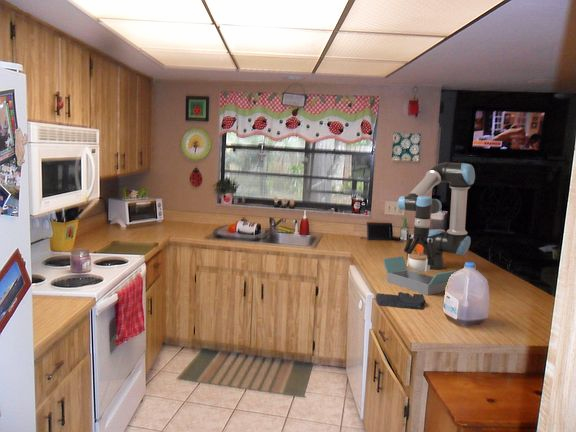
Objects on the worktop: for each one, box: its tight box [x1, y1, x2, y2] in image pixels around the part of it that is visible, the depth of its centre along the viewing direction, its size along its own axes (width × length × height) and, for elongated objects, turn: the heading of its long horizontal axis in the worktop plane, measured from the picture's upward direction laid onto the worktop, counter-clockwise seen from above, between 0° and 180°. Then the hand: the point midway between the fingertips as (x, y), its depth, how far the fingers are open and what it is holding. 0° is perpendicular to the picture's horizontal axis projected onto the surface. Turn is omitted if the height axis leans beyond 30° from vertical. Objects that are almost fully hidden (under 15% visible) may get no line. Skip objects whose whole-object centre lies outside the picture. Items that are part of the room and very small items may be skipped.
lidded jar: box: [407, 252, 427, 273], centre depth 241 cm, size 11×11×9 cm
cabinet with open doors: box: [382, 255, 457, 296], centre depth 242 cm, size 34×16×12 cm, turn 37°
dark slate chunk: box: [375, 291, 427, 311], centre depth 213 cm, size 15×22×5 cm
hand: (418, 268), depth 242 cm, fingers closed on lidded jar, 11 cm apart
